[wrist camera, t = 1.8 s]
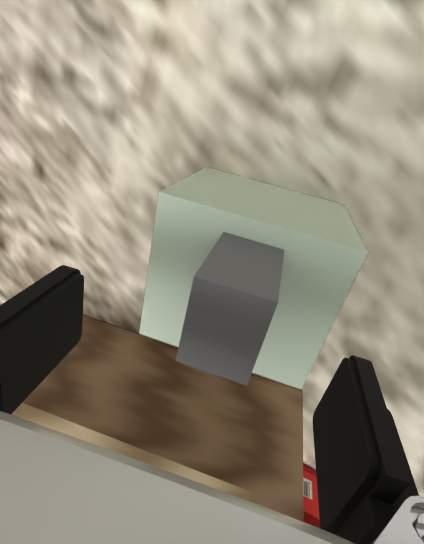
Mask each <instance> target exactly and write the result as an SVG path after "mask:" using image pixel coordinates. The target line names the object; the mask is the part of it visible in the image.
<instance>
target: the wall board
mask: <svg viewBox="0 0 424 544" xmlns="http://www.w3.org/2000/svg"><path fill="white" fill-rule="evenodd" d="M177 351H178V348H177V347H175V346H172V345H169V344H166V343H163V342H160V341H157V340H154V339H151V338H148V337H146V336H143V335H140V334H137V333H134V332H131V331H128V330H125V329H122V328H119V327H117V326H114V325H111V324H108V323H105V322H102V321H99V320H96V319H93V318H91V317H88V316H85V315H83V323H82V336H81V339H80V341H79V342H78V344H77V345H76V346H75V347H74V348H73V349H72V350H71V351H70V352H69V353H68V354H67V355H66V356H65V358H64V359H63V360H62V361H61V362H60V363H59V364H58V365H57V366H56V367H55V368H54V369H53V370H52V371H51V373H50V374H49V375H48V376H47V377H46V378H45V379H44V380H43V381H42V382H41V383H40V384H39V385H38V386H37V387H36V389H35V390H34V391H33V392H32V393H31V394H30V395H29V396H28V397H27V398H26V399H25V400H24V401H23V402H22V404H21V405H20V406H19V407H18V408H17V409H16V410H15V411H14V412H13V413H12V414H11V415H14V416H17V417H19V418H22V419H25V420H28V421H31V422H33V423H36V424H39V425H42V426H45V427H47V428H50V429H53V430H56V431H58V432H61V433H64V434H67V435H70V436H72V437H75V438H78V439H81V440H84V441H86V442H89V443H92V444H95V445H97V446H100V447H103V448H106V449H108V450H111V451H114V452H117V453H119V454H122V455H125V456H128V457H130V458H133V459H136V460H139V461H141V462H144V463H147V464H150V465H152V466H155V467H158V468H160V469H163V470H166V471H169V472H171V473H174V474H177V475H180V476H182V477H185V478H188V479H190V480H193V481H196V482H198V483H201V484H204V485H207V486H209V487H212V488H215V489H217V490H220V491H223V492H225V493H228V494H231V495H233V496H236V497H239V498H242V499H244V500H247V501H250V502H252V503H255V504H258V505H260V506H263V507H266V508H268V509H271V510H274V511H276V512H279V513H281V514H284V515H287V516H289V517H292V518H294V519H297V520H299V521H302V522H304V511H303V404H302V390H299V389H296V388H293V387H290V386H288V385H285V384H282V383H279V382H276V381H273V380H270V379H267V378H264V377H261V376H259V375H256V374H253V373H251V376H250V379H249V381H248V384H247V386H246V385H243V384H240V383H237V382H235V381H232V380H229V379H226V378H223V377H220V376H217V375H215V374H212V373H209V372H206V371H203V370H200V369H197V368H195V367H192V366H189V365H186V364H183V363H180V362H178V361H176V356H177Z"/></svg>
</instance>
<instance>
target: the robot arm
mask: <svg viewBox="0 0 424 544" xmlns="http://www.w3.org/2000/svg"><path fill="white" fill-rule="evenodd" d="M83 293H84V277H83V275H81V274H80V271H79V270H78V269H75V268H71V267H68V266H65V265H62V266H60V267H58V268H57V269H55V270H54V271H52V272H51V273H49V274H48V275H46V276H44V277H43V278H41V279H40V280H38V281H37V282H35V283H34V284H32V285H31V286H29V287H28V288H26V289H25V290H23V291H22V292H20V293H19V294H17V295H15V296H14V297H12V298H11V299H9V300H8V301H6V302H5V303H3V304H2V305H0V544H424V497H422V496H419V494H418V491H417V488H416V485H415V482H414V479H413V476H412V473H411V470H410V467H409V464H408V461H407V458H406V455H405V452H404V449H403V446H402V444H401V441H400V438H399V435H398V432H397V429H396V426H395V423H394V420H393V417H392V414H391V412H390V411H389V410H388V409H387V408H386V405H385V401H384V398H383V395H382V392H381V389H380V386H379V383H378V380H377V377H376V374H375V371H374V368H373V365H372V362H371V361H369V360H366V359H363V358H360V357H357V356H351V357H350V358H349V359H348V358H344V359H343V360H342V362H341V364H340V366H339V368H338V369H337V371H336V373H335V375H334V377H333V379H332V380H331V382H330V384H329V386H328V388H327V390H326V391H325V393H324V395H323V397H322V399H321V401H320V402H319V404H318V406H317V408H316V410H315V412H314V416H313V432H314V446H315V461H316V475H317V489H318V503H319V518H320V528H321V529H320V528H317V527H315V526H312V525H310V524H307V523H304V522H302V521H299V520H297V519H294V518H292V517H289V516H287V515H284V514H281V513H279V512H276V511H274V510H271V509H268V508H266V507H263V506H260V505H258V504H255V503H252V502H250V501H247V500H244V499H242V498H239V497H236V496H233V495H231V494H228V493H225V492H223V491H220V490H217V489H215V488H212V487H209V486H207V485H204V484H201V483H198V482H196V481H193V480H190V479H188V478H185V477H182V476H180V475H177V474H174V473H171V472H169V471H166V470H163V469H160V468H158V467H155V466H152V465H150V464H147V463H144V462H141V461H139V460H136V459H133V458H130V457H128V456H125V455H122V454H119V453H117V452H114V451H111V450H108V449H106V448H103V447H100V446H97V445H95V444H92V443H89V442H86V441H84V440H81V439H78V438H75V437H72V436H70V435H67V434H64V433H61V432H58V431H56V430H53V429H50V428H47V427H45V426H42V425H39V424H36V423H33V422H31V421H28V420H25V419H22V418H19V417H17V416H14V415H11V414H12V413H13V412H14V411H15V410H16V409H17V408H18V407H19V406H20V405H21V404H22V402H23V401H24V400H25V399H26V398H27V397H28V396H29V395H30V394H31V393H32V392H33V391H34V390H35V389H36V387H37V386H38V385H39V384H40V383H41V382H42V381H43V380H44V379H45V378H46V377H47V376H48V375H49V374H50V373H51V371H52V370H53V369H54V368H55V367H56V366H57V365H58V364H59V363H60V362H61V361H62V360H63V359H64V358H65V356H66V355H67V354H68V353H69V352H70V351H71V350H72V349H73V348H74V347H75V346H76V345H77V344H78V342H79V341H80V339H81V336H82V323H83Z"/></svg>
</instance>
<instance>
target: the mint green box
mask: <svg viewBox="0 0 424 544" xmlns="http://www.w3.org/2000/svg"><path fill="white" fill-rule="evenodd" d="M367 254H368V251H367V249H366V247H365V245H364V243H363V241H362V239H361V237H360V235H359V233H358V231H357V229H356V227H355V225H354V223H353V221H352V219H351V217H350V215H349V213H348V211H347V209H346V207H345V205H344V204H340V203H336V202H333V201H329V200H325V199H322V198H318V197H314V196H311V195H307V194H303V193H300V192H296V191H292V190H289V189H285V188H281V187H278V186H274V185H270V184H267V183H263V182H260V181H256V180H252V179H249V178H245V177H241V176H238V175H234V174H230V173H227V172H223V171H219V170H216V169H212V168H208V167H205V168H203V169H201V170H199V171H198V172H196V173H194V174H192V175H190V176H188V177H186V178H184V179H182V180H181V181H179V182H177V183H175V184H173V185H171V186H169V187H167V188H165V189H163V190H162V191H160V192H159V195H158V202H157V209H156V216H155V223H154V230H153V238H152V245H151V252H150V259H149V266H148V273H147V281H146V288H145V295H144V302H143V309H142V316H141V324H140V331H139V334H142V335H145V336H148V337H151V338H154V339H156V340H159V341H162V342H165V343H168V344H171V345H174V346H177V347H178V351H177V356H176V361H178V362H180V363H183V364H186V365H189V366H192V367H195V368H197V369H200V370H203V371H206V372H209V373H212V374H215V375H217V376H220V377H223V378H226V379H229V380H232V381H235V382H237V383H240V384H243V385H246V386H247V384H248V381H249V379H250V376H251V373H255V374H258V375H261V376H264V377H267V378H269V379H272V380H275V381H278V382H281V383H284V384H287V385H290V386H293V387H296V388H298V389H301V388H302V386H303V384H304V382H305V380H306V378H307V376H308V374H309V372H310V370H311V368H312V366H313V364H314V362H315V360H316V358H317V356H318V354H319V352H320V350H321V348H322V346H323V343H324V341H325V339H326V337H327V335H328V333H329V331H330V329H331V327H332V325H333V323H334V321H335V319H336V317H337V315H338V313H339V311H340V309H341V307H342V305H343V303H344V301H345V299H346V297H347V295H348V293H349V291H350V289H351V286H352V284H353V282H354V280H355V278H356V276H357V274H358V272H359V270H360V268H361V266H362V264H363V262H364V260H365V258H366V256H367Z"/></svg>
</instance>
